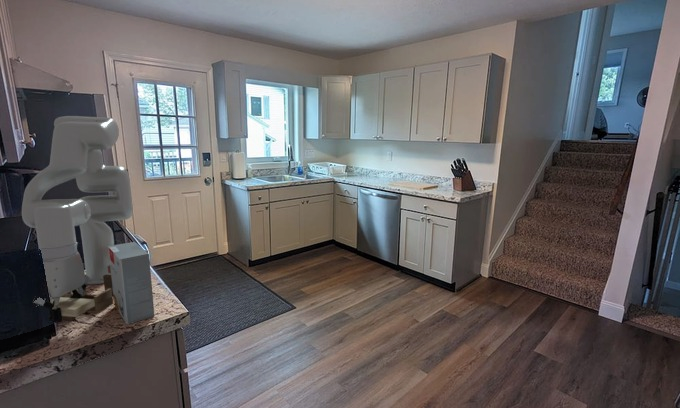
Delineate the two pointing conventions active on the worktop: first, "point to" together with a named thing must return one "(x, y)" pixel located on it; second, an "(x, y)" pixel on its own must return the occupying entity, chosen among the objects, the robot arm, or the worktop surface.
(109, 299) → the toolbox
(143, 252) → the hard drive box
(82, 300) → the lid
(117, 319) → the worktop surface
